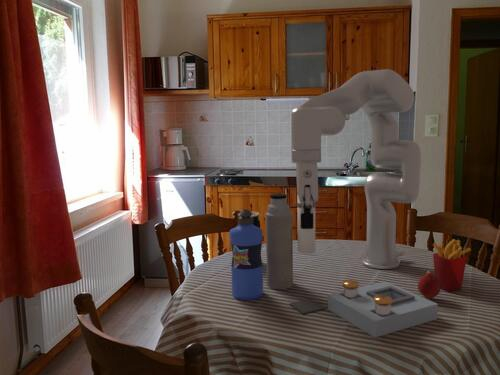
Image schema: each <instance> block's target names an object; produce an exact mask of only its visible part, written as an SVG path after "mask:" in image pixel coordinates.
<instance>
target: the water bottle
mask: <svg viewBox="0 0 500 375" xmlns="http://www.w3.org/2000/svg"><path fill="white" fill-rule="evenodd" d="M251 212H252V211H250V209H247V208H244V209H241V211H239V213H238V214H239V215H240V216H241V217H239V216H238V220H237V223H239V225H237V226H235V227H234V228H231V229H230V230H229V243H230V246H231V254H232V257H231V268H230V269H231V296H232V297H233V298H234V299H236V300H241V301H254V300H258V299H260V298H262V297H263V296H264V275H263V274H264V270H263V268H264V267H263V266H264V265H263V261H262V245H263V240H264V239H263V229H262V228H261V227H260V228H258V227H256V226H254V225H253V224H252V223H253V217H251V215H252V213H251Z"/></svg>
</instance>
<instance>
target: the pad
mask: <svg viewBox="0 0 500 375" xmlns="http://www.w3.org/2000/svg"><path fill="white" fill-rule="evenodd" d="M288 304H289V306H290V307H292V308H293V309H295V310H296V311H297V312H298V313H300V314H302V315H306V314H307V315H308V314H311V313H315V312H318V311H323V310H326V307H325V306H323V305H322V304H320V303H318V302H317V301H315V300H314V299H312V298H307V299H303V300H299V301H298V300H297V301H293V302H289V303H288Z"/></svg>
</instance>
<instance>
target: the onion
mask: <svg viewBox="0 0 500 375" xmlns="http://www.w3.org/2000/svg"><path fill="white" fill-rule="evenodd" d="M417 289H418V292H419V293H420V294H421V295H422V297H423V298H425V299H428V300H432V299H434V298H435V297H436V296H438V295H439V294H440V293H441V290H442V289H441V288H440V283H439V280H438V279H437V278H436V277H435V274H434V275H433V274H432V273H431V271H429V270H428V271H426V274H424V275H422V276H421V277H420V278H419V280H418V281H417Z"/></svg>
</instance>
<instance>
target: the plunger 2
mask: <svg viewBox="0 0 500 375" xmlns="http://www.w3.org/2000/svg"><path fill="white" fill-rule="evenodd" d="M374 302H375V314H377V315H379V316H380V317H385V316H389V315H391V304H392V298H391V297H390V296H386V295H376V296H374Z"/></svg>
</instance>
